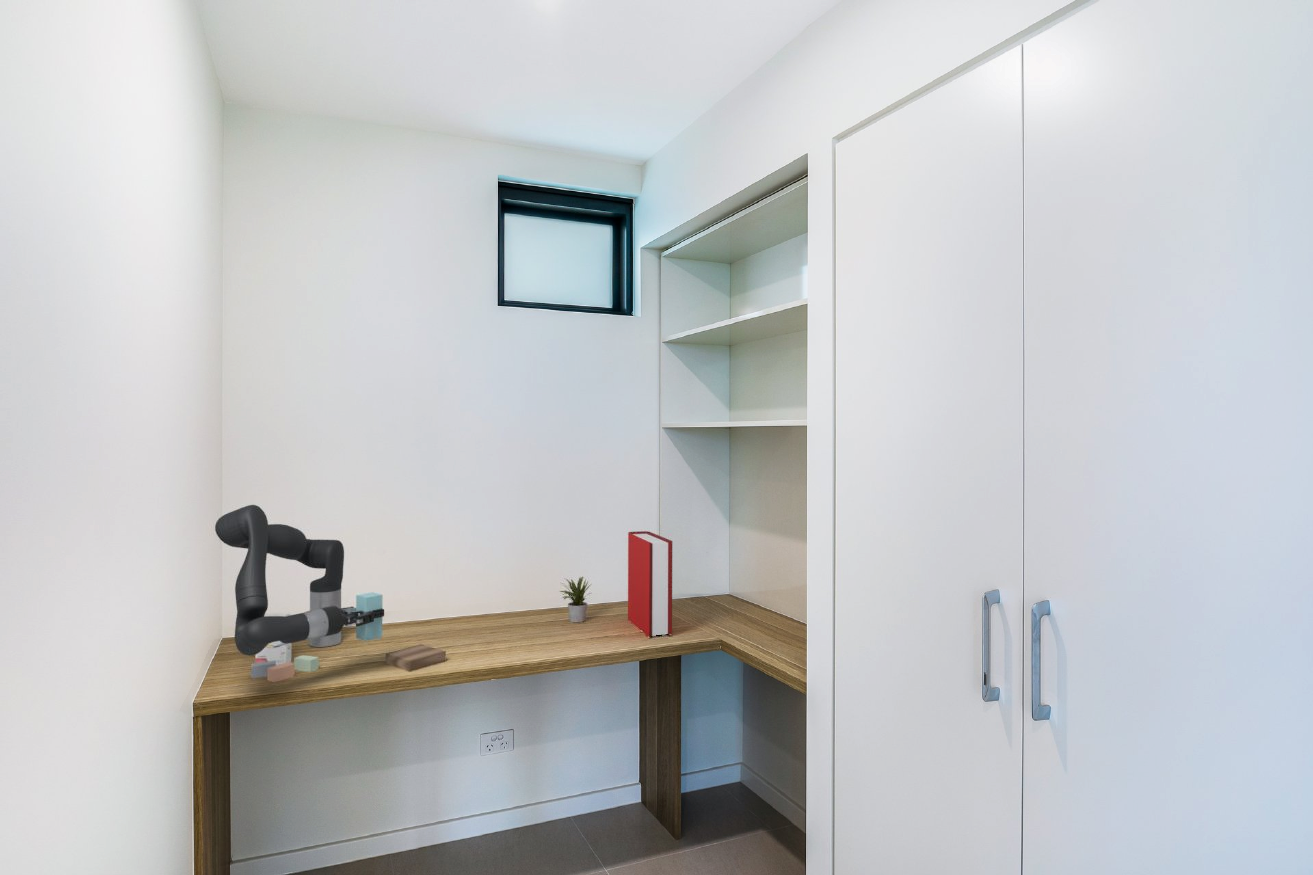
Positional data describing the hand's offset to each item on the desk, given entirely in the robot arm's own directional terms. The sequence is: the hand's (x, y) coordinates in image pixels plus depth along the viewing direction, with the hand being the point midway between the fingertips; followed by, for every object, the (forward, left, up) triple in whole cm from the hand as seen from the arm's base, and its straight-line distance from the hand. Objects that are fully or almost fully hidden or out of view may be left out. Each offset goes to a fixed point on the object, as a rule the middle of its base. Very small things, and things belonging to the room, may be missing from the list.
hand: (377, 610), depth 209 cm
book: (+31, +85, -17) cm, 92 cm away
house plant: (+4, +77, -17) cm, 79 cm away
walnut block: (+2, +11, -17) cm, 20 cm away
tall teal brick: (0, -3, -7) cm, 7 cm away
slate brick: (-21, -22, -17) cm, 35 cm away
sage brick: (-17, -12, -17) cm, 27 cm away
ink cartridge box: (-28, -16, -17) cm, 36 cm away
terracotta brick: (-15, -20, -17) cm, 30 cm away
